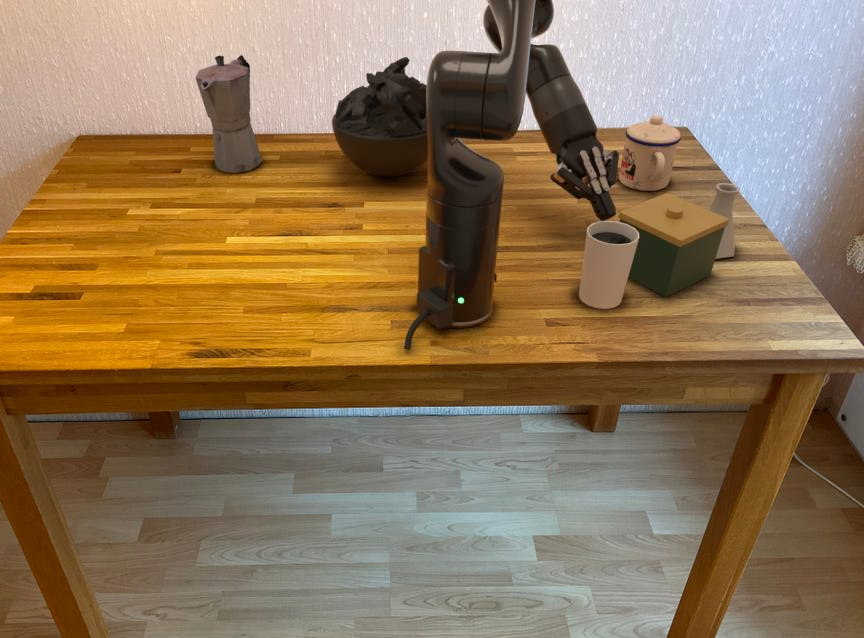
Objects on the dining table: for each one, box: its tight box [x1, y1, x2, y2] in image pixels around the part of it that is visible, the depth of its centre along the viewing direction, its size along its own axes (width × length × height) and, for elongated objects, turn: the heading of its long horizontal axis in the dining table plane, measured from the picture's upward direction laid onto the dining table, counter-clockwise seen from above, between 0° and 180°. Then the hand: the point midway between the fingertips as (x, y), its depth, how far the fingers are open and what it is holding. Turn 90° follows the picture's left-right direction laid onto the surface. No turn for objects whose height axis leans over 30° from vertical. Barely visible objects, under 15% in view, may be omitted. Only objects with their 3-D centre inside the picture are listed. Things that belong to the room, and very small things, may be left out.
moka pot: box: [195, 54, 263, 174], centre depth 134 cm, size 10×15×20 cm, turn 163°
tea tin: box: [617, 192, 729, 298], centre depth 104 cm, size 10×10×10 cm
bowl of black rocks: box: [331, 56, 427, 178], centre depth 131 cm, size 20×20×19 cm
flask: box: [708, 182, 740, 260], centre depth 110 cm, size 7×7×10 cm
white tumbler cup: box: [578, 220, 639, 310], centre depth 99 cm, size 7×7×10 cm
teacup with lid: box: [618, 114, 682, 192], centre depth 127 cm, size 12×9×12 cm
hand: (608, 218), depth 112 cm, fingers closed
